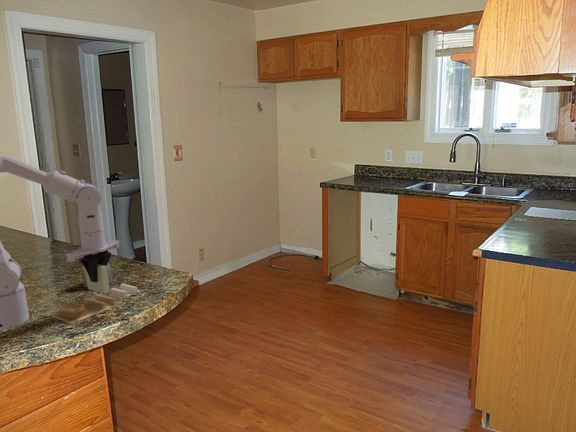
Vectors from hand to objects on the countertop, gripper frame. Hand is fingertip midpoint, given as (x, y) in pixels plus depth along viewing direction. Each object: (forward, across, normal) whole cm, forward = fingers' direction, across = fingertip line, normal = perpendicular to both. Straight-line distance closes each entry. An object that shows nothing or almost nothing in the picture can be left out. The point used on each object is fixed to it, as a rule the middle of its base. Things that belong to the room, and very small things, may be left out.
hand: (97, 280), depth 125 cm
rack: (+8, -4, 0) cm, 9 cm away
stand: (+8, +9, +1) cm, 12 cm away
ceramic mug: (+8, +10, +14) cm, 19 cm away
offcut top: (+6, -8, 0) cm, 10 cm away
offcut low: (+7, -8, 0) cm, 11 cm away
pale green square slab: (+3, 0, 0) cm, 3 cm away
